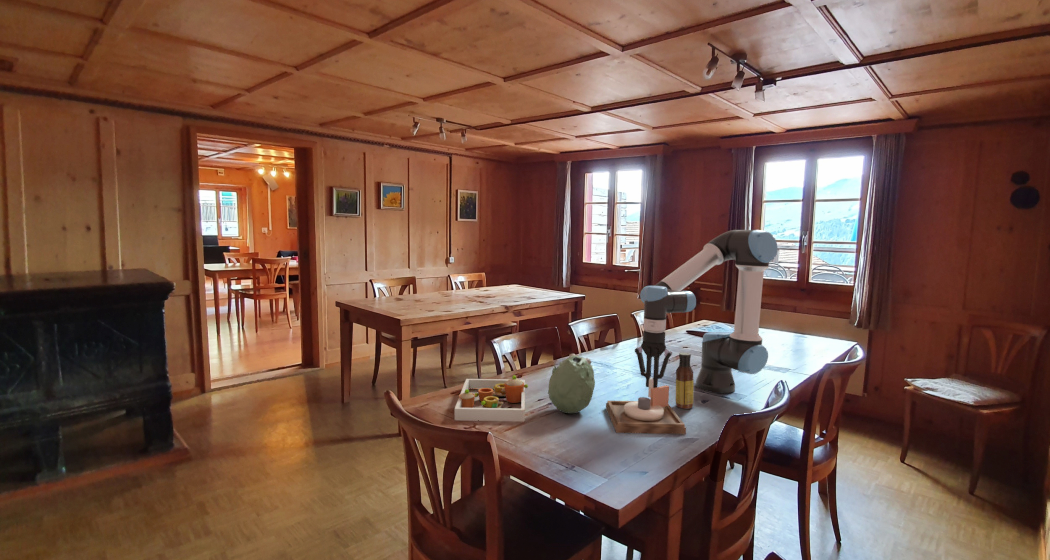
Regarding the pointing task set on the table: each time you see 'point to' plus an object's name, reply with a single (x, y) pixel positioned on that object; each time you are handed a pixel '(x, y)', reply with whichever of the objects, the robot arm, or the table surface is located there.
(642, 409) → the dial
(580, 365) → the green monster figurine
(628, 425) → the brown wooden tray
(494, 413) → the tea tray rim
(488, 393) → the toy tea set
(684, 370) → the sauce bottle
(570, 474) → the table surface
